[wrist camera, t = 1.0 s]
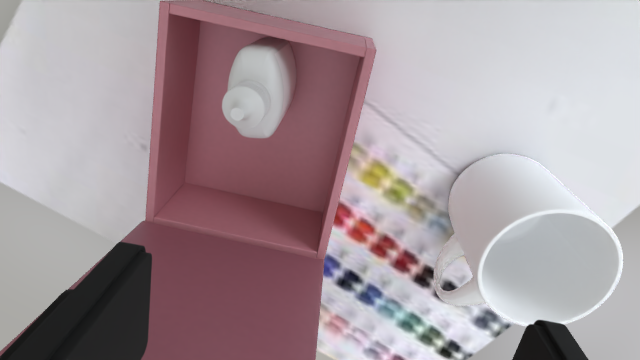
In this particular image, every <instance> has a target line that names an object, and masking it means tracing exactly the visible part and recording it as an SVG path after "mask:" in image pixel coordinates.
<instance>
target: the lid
mask: <svg viewBox="0 0 640 360" xmlns="http://www.w3.org/2000/svg"><path fill="white" fill-rule="evenodd" d="M120 242H126V243H132V244H137V245H142V246H144V247H145V249H146V252H147V253H151V254H152V271H151V292H150V312H149V332H148V343H147V347H146V350H145V353H144V355H143V357H142V359H141V360H315V359H316V348H317V337H318V326H319V314H320V303H321V292H322V281H323V270H324V260H321V259H316V258H312V257H307V256H302V255H298V254H293V253H289V252H284V251H279V250H275V249H270V248H266V247H261V246H256V245H252V244H247V243H243V242H238V241H233V240H229V239H224V238H220V237H215V236H210V235H206V234H201V233H197V232H192V231H187V230H183V229H178V228H174V227H169V226H165V225H160V224H155V223H151V222H146V221H142V222H141V223H140V224H139V225H138V226H137V227H136V228H135V229H133V230H132V231H131V232H130V233H129V234H128V235H127V236H126V237H125V238H124V239H123V240H121V241H120ZM109 252H110V251H109ZM109 252H108V253H109ZM108 253H107V254H108ZM107 254H106V255H107ZM106 255H105V256H106ZM105 256H104V257H105ZM104 257H103V258H104ZM103 258H102V259H103ZM102 259H101V260H102ZM101 260H100V261H101ZM100 261H99V262H100ZM99 262H97V263H96V264H95V265H94V266H93V267H92V268H91V269H90V270H89V271H88V272H86V274H85V275H83V276H82V277H81V278H80V279H79V280H78V281H77V282H76V283H74V284H73V285H72V286H71V287H70V288H69V289H75V287H76V286H77V285H78V284H79V283H80V282H81V281H82V280H83V279H84V278H85V277H86V276H87V275H88V274H89V273H90V272H91V271H92V270H93V269H94V268H95V266H96V265H97V264H98V263H99ZM69 289H68V290H69ZM38 317H39V316H38ZM38 317H37V318H38ZM37 318H36V319H37ZM36 319H35V320H36ZM35 320H34V321H35ZM34 321H33V322H34ZM33 322H32V323H33ZM32 323H31V324H32ZM31 324H30V325H31ZM30 325H29V326H30ZM29 326H27V328H28V327H29ZM27 328H25V329H24V330H23V331H22V332H21V333H20V334H19V335H18V336H17V337H16V338H14V339H13V340H12V341H11V342H10V343H9V344H8V345H7V346H6V347H5V348H3V349H2V350H1V351H0V356H1V355H2V354H3V353H4V352H5V351H6V350H7V349H8V348H9V347H10V346H11V345H12V344H13V343H14V342H15V341H16V340H17V339H18V338H19V337H20V336H21V335H22V333H23V332H24V331H25V330H26V329H27Z"/></svg>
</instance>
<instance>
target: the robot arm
mask: <svg viewBox="0 0 640 360" xmlns="http://www.w3.org/2000/svg"><path fill="white" fill-rule="evenodd" d="M151 271H152V254H151V253H147V252H146V249H145V247H144V246H142V245H137V244H132V243H126V242H119V243H118V244H116V245H115V247H114V248H113V249H112V250H111V251H110V252H109V253H108V254H107V255H106V256H105V257H104V258H103V259H102V260H101V261H100V262H99V263H98V264H97V265H96V266H95V268H94V269H93V270H92V271H91V272H90V273H89V274H88V275H87V276H86V277H85V278H84V279H83V280H82V281H81V282H80V283H79V284H78V285H77V286H76V287H75V289H69V290H66V291H64V292H63V293H62V294H61V295H60V296H59V297H58V298H57V299H56V300H55V301H54V302H53V303H52V304H51V305H50V306H49V307H48V308H47V309H46V310H45V311H44V312H43V313H42V314H41V315H40V316H39V317H38V318H37V319H36V320H35V321H34V322H33V323H32V324H31V325H30V326H29V327H28V328H27V329H26V330H25V331H24V332H23V333H22V335H21V336H20V337H19V338H18V339H17V340H16V341H15V342H14V343H13V344H12V345H11V346H10V347H9V348H8V349H7V350H6V351H5V352H4V353H3V354H2V355H1V356H0V360H141V359H142V357H143V355H144V353H145V350H146V347H147V343H148V332H149V312H150V292H151ZM512 360H588V358H587V357H586V356H585V354H584V353H583V351H582V350H581V348H580V347H579V345H578V344H577V342H576V341H575V339H574V338H573V336H572V335H571V333H570V332H569V330H568V329H567V327H566V326H565V325H564V324H561V323H556V322H550V321H545V320H537V321H536V322H534V324H529V325H528V326H527V328H526V329H525V332H524V334H523V336H522V339H521V341H520V343H519V346H518V348H517V350H516V353H515V355H514V357H513V359H512Z"/></svg>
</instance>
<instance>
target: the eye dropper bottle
mask: <svg viewBox="0 0 640 360" xmlns="http://www.w3.org/2000/svg"><path fill="white" fill-rule="evenodd" d="M295 86H296V63H295V58H294V54H293V51H292V48H291V46H290V43H289V42H288V41H287V40H285V39H280V38H271V37H264V38H261V39H259V40H257V41H255V42H253V43H251V44H249V45H247V46H245V47H244V48H242V49H241V50H240V51H239V52H238V54H237V56H236V57H235V60H234V62H233V65H232V68H231V71H230V75H229V80H228V91H227V92H226V94H225V95H224V98H223V102H222V110H223V114H224V116H225V118H226V120H228V121H229V122H230V123H231V124H233V126H235V127H236V128H237V130H238V132H239V133H240V134H241V135H242V136H245V137H249V138H268V137H270V136H271V135H272V134H273V133H274V132H275V130H276V129H277V127H278V125H279V124H280V122H281V120H282V118H283V117H284V115H285V113H286V111H287V110H288V108H289V106H290V104H291V101H292V99H293V95H294V91H295Z"/></svg>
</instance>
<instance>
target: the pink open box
mask: <svg viewBox="0 0 640 360" xmlns="http://www.w3.org/2000/svg"><path fill="white" fill-rule="evenodd" d="M264 37H271V38H280V39H285V40H287V41H288V42H289V43H290V46H291V48H292V51H293V54H294V58H295V63H296V86H295V91H294V95H293V99H292V101H291V104H290V106H289V108H288V110H287V111H286V113H285V115H284V117H283V118H282V120H281V122H280V124H279V125H278V127H277V129H276V130H275V132H274V133H273V134H272V135H271V136H270V137H268V138H249V137H245V136H242V135H241V134H240V133H239V132H238V130H237V128H236V127H235V126H233V124H231V123H230V122H229V121H228V120H226V118H225V116H224V114H223V110H222V102H223V98H224V95H225V94H226V92H227V91H228V80H229V75H230V71H231V68H232V65H233V62H234V60H235V57H236V56H237V54H238V52H239V51H240V50H241V49H242V48H244V47H245V46H247V45H249V44H251V43H253V42H255V41H257V40H259V39H261V38H264ZM375 54H376V48H375V46H374V43H373V40H372V39H371V38H367V37H362V36H358V35H353V34H349V33H345V32H340V31H336V30H331V29H327V28H322V27H318V26H314V25H309V24H305V23H300V22H296V21H292V20H287V19H283V18H278V17H274V16H269V15H265V14H261V13H256V12H252V11H247V10H243V9H238V8H234V7H230V6H225V5H221V4H216V3H212V2H207V1H203V0H174V1H160V9H159V24H158V39H157V54H156V69H155V84H154V99H153V114H152V129H151V144H150V159H149V174H148V190H147V205H146V220H145V221H146V222H151V223H155V224H160V225H165V226H169V227H174V228H178V229H183V230H187V231H192V232H197V233H201V234H206V235H210V236H215V237H220V238H224V239H229V240H233V241H238V242H243V243H247V244H252V245H256V246H261V247H266V248H270V249H275V250H279V251H284V252H289V253H293V254H298V255H302V256H307V257H312V258H316V259H321V260H324V258H325V254H326V250H327V246H328V242H329V238H330V234H331V230H332V226H333V222H334V218H335V214H336V210H337V206H338V202H339V198H340V194H341V190H342V186H343V182H344V178H345V174H346V170H347V166H348V162H349V158H350V154H351V150H352V146H353V142H354V138H355V134H356V130H357V126H358V122H359V118H360V114H361V110H362V106H363V102H364V98H365V94H366V90H367V86H368V82H369V78H370V74H371V70H372V66H373V62H374V58H375Z"/></svg>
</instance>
